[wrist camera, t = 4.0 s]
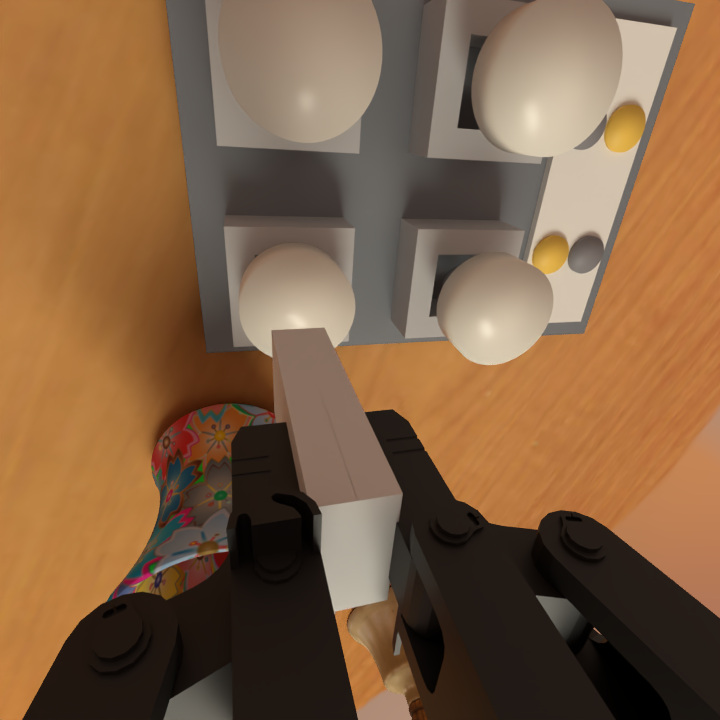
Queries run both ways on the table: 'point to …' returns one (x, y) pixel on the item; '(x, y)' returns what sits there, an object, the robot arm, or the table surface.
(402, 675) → the hand bell
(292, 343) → the robot arm
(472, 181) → the board
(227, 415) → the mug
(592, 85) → the button
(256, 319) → the button
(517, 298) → the button
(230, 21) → the button
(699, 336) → the table surface
